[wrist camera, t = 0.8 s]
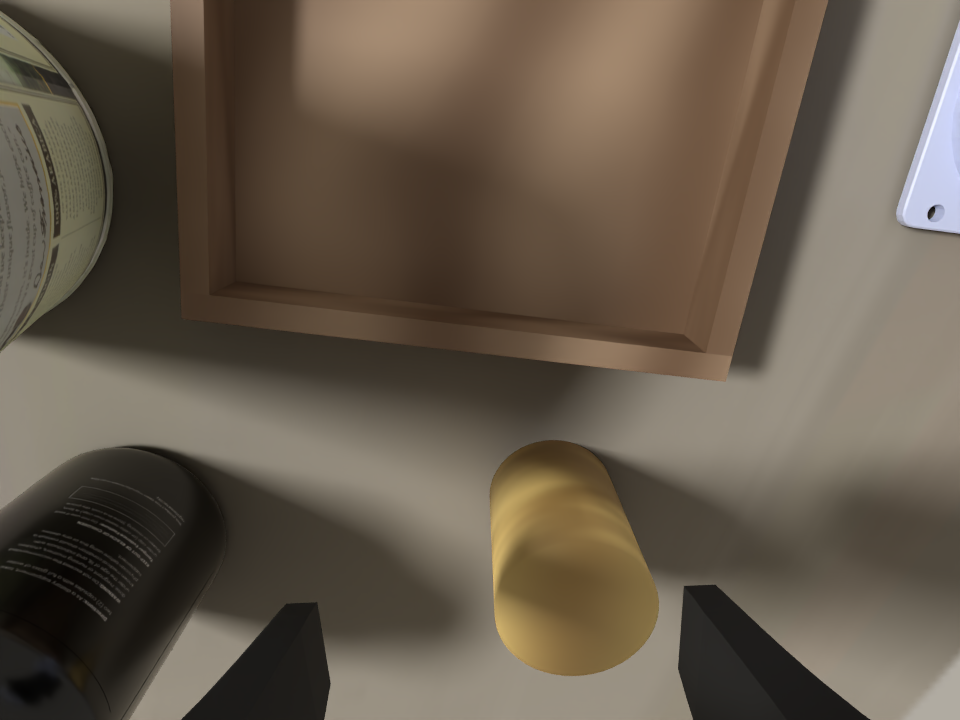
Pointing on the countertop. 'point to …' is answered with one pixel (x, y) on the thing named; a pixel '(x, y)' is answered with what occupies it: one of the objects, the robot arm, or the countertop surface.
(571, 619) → the tan wooden cylinder
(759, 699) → the robot arm
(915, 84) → the countertop surface
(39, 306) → the coffee can
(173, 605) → the supplement bottle
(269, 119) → the tray
